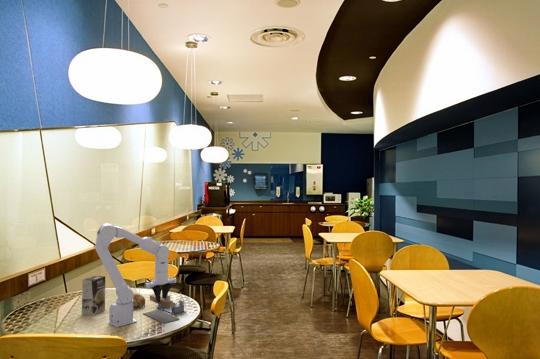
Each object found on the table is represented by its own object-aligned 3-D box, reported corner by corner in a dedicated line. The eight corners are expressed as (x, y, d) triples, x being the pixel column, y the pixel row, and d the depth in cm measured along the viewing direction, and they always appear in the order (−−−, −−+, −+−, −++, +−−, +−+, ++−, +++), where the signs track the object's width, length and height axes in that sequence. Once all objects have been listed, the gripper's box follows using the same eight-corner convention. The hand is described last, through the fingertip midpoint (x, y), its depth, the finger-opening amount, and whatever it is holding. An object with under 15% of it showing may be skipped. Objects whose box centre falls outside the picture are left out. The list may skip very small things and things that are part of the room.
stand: (175, 315, 185) (175, 303, 185) (156, 307, 197) (156, 296, 197) (186, 312, 189) (186, 301, 190) (166, 304, 201) (166, 293, 201)
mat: (163, 324, 174) (163, 323, 174) (143, 314, 187) (143, 313, 187) (179, 319, 180) (179, 318, 180) (158, 310, 192) (158, 309, 192)
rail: (168, 307, 177) (168, 302, 177) (149, 300, 188) (149, 295, 188) (172, 306, 179) (173, 301, 179) (154, 299, 190) (154, 294, 190)
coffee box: (93, 315, 184) (94, 280, 184) (81, 314, 185) (81, 279, 186) (105, 309, 193) (106, 275, 193) (93, 308, 194) (94, 275, 195)
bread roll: (146, 312, 201) (149, 295, 205) (139, 309, 192) (142, 292, 195) (127, 311, 202) (131, 295, 205) (119, 308, 193) (122, 291, 196)
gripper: (170, 267, 191) (170, 296, 191) (142, 272, 181) (142, 302, 181) (178, 269, 187) (178, 299, 186) (150, 274, 176) (150, 305, 176)
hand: (161, 301), depth 183 cm, fingers closed on rail, 2 cm apart
